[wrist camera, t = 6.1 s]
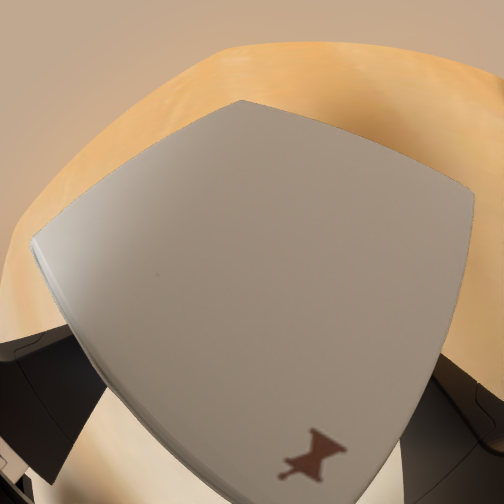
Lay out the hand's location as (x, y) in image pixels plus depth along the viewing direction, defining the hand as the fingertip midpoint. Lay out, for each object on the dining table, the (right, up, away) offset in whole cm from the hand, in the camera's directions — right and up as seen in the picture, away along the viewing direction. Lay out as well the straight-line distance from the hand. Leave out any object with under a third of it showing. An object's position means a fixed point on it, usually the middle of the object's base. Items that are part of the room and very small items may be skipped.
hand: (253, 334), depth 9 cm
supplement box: (+1, -4, +6) cm, 7 cm away
